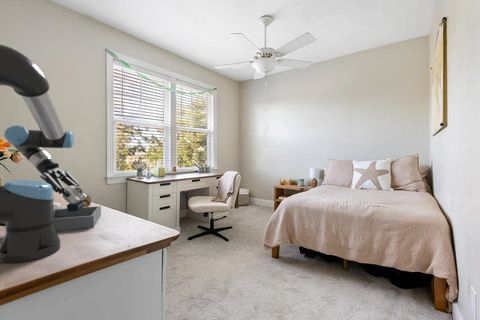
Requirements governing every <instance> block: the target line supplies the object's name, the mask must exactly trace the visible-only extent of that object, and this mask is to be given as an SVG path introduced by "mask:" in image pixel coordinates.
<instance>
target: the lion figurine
mask: <svg viewBox="0 0 480 320" xmlns="http://www.w3.org/2000/svg"><path fill="white" fill-rule="evenodd" d="M85 195H86V196H87V197H86V198H85V199H84V200H83V202H84V206H83V207H91V204H92V198H91V196H90V195H89V194H88V195H87V194H85Z"/></svg>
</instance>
